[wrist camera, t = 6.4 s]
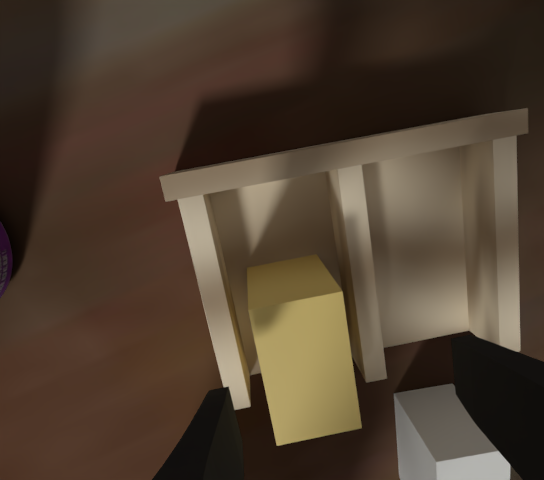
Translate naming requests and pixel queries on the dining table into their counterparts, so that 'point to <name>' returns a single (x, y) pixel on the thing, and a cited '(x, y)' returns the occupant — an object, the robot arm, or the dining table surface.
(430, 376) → the dining table surface
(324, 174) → the birch comb rack
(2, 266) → the beverage can
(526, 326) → the dining table surface
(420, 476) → the grey plug
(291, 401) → the mustard plug
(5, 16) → the dining table surface
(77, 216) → the dining table surface
